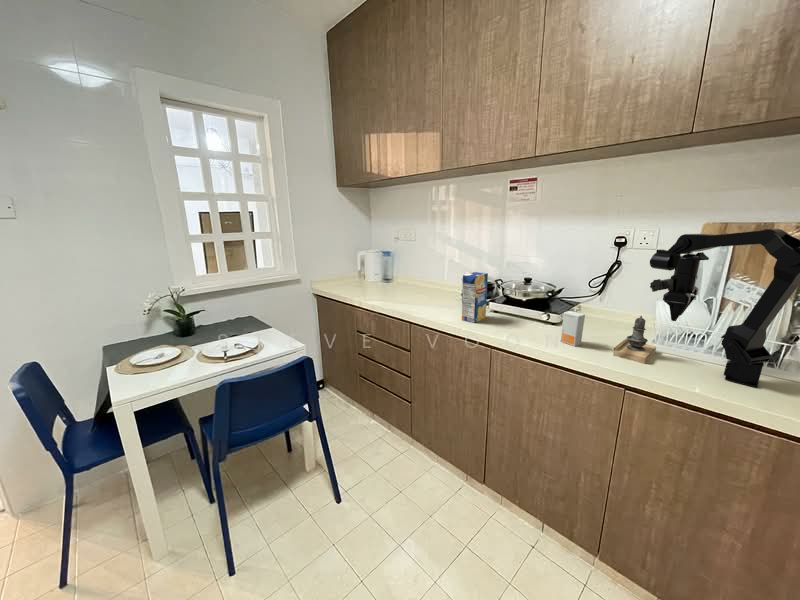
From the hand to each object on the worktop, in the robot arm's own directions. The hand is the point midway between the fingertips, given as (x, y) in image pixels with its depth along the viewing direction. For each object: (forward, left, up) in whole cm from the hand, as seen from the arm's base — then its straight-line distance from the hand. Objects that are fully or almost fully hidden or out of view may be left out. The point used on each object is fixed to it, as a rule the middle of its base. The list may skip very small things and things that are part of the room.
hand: (676, 317), depth 107 cm
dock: (+8, +9, -13) cm, 18 cm away
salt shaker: (+8, +9, -11) cm, 16 cm away
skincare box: (+27, +15, -13) cm, 34 cm away
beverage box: (+71, +17, -13) cm, 74 cm away
